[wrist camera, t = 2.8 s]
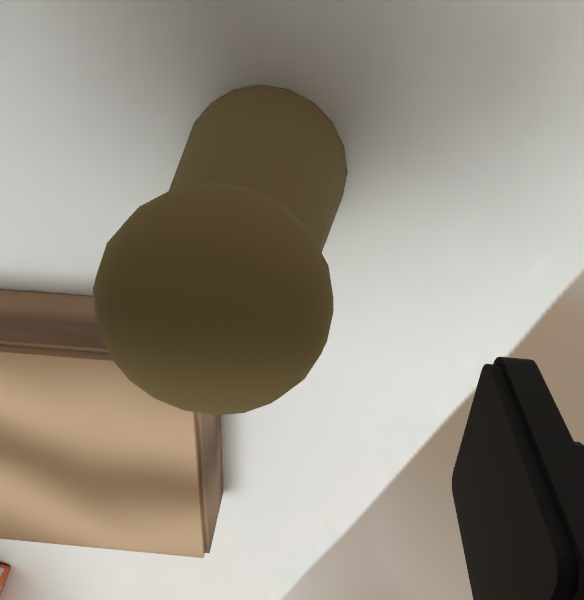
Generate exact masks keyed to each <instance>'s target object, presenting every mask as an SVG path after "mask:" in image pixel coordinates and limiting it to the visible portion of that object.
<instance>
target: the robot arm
mask: <svg viewBox="0 0 584 600" xmlns="http://www.w3.org/2000/svg"><path fill="white" fill-rule="evenodd" d="M452 492H453V497H454V503H455V507H456V513H457V518H458V523H459V528H460V533H461V538H462V543H463V548H464V554H465V559H466V564H467V569H468V574H469V579H470V584H471V589H472V595H473V599H474V600H584V445H582V444H581V443H580V442H574V441H573V439H572V437H571V435H570V433H569V431H568V429H567V426H566V425H565V422H564V420H563V418H562V416H561V414H560V412H559V410H558V408H557V406H556V404H555V402H554V399H553V397H552V395H551V393H550V391H549V389H548V387H547V385H546V383H545V381H544V379H543V377H542V375H541V373H540V370H539V369H538V366H537V364H536V363H535V362H534V361H533V360H530V359H519V358H508V357H498V358H496V360H495V361H494V364H493V365H492V364H485V365H484V366H483V368H482V371H481V374H480V378H479V382H478V385H477V389H476V392H475V396H474V399H473V403H472V406H471V410H470V414H469V417H468V421H467V424H466V428H465V431H464V435H463V438H462V442H461V446H460V449H459V453H458V456H457V460H456V464H455V467H454V471H453V476H452Z"/></svg>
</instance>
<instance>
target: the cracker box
mask: <svg viewBox="0 0 584 600" xmlns="http://www.w3.org/2000/svg"><path fill="white" fill-rule="evenodd" d="M9 569H10V567H9V566H6V565H3V564H0V593H1V591H2V588H3V585H4V583H5V580H6V578H7V575H8V572H9Z"/></svg>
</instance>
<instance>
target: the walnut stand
mask: <svg viewBox="0 0 584 600" xmlns="http://www.w3.org/2000/svg"><path fill="white" fill-rule="evenodd" d="M222 495H223V480H222V452H221V424H220V415H210V414H203V413H197V412H191V411H184V410H182V409H179V408H177V407H174V406H172V405H169V404H167V403H164V402H162V401H159V400H157V399H155V398H153V397H152V396H150V395H149V394H148V393H146V392H145V391H143V390H142V389H141V388H139V387H138V386H136V385H135V384H134V383H132V382H131V381H130V380H129V379H128V378H127V377H126V376H125V374H124V373H123V372H122V371H121V370H120V368H119V367H118V366H117V365H116V364H115V362H114V361H113V360H112V359H111V357H110V355H109V353H108V350H107V348H106V346H105V343H104V341H103V339H102V336H101V334H100V332H99V329H98V326H97V323H96V320H95V308H94V296H81V295H68V294H55V293H42V292H29V291H15V290H2V289H0V539H10V540H21V541H31V542H42V543H52V544H63V545H73V546H84V547H94V548H105V549H115V550H126V551H136V552H147V553H157V554H168V555H178V556H188V557H199V558H204V553H210V548H211V544H212V539H213V535H214V530H215V526H216V522H217V517H218V513H219V508H220V504H221V499H222Z"/></svg>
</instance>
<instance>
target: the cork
mask: <svg viewBox="0 0 584 600" xmlns="http://www.w3.org/2000/svg"><path fill="white" fill-rule="evenodd" d="M346 176H347V167H346V159H345V151H344V146H343V144H342V142H341V140H340V137H339V135H338V133H337V131H336V129H335V127H334V125H333V123H332V122H331V121H330V120H329V118H328V117H327V116H326V115H325V114H324V113H323V112H322V111H321V110H320V109H319V108H318V107H317V106H316V105H315V104H314V103H313V102H311V101H309V100H307V99H306V98H304V97H302V96H300V95H298V94H296V93H294V92H292V91H291V90H289V89H282V88H276V87H270V86H264V85H259V86H253V87H247V88H241V89H236V90H233V91H231V92H230V93H228V94H226V95H224V96H223V97H221V98H219V99H217V100H216V101H214V102H212V103H211V104H210V105H209V106H208V107H207V109H206V110H205V111H204V112H203V113H202V114H201V116H200V117H199V118H198V119H197V120H196V122H195V123H194V126H193V128H192V131H191V133H190V136H189V139H188V141H187V144H186V146H185V149H184V152H183V154H182V157H181V160H180V162H179V165H178V168H177V171H176V173H175V176H174V179H173V181H172V184H171V187H170V189H169V191H168V192H167V193H165V194H163V195H161V196H159V197H157V198H155V199H153V200H151V201H149V202H148V203H146V204H144V205H142V206H140V207H139V208H138V209H137V210H136V211H135V212H134V213H133V214H132V215H131V216H130V217H129V219H128V220H127V221H126V222H125V223H124V224H123V225H122V227H121V228H120V229H119V230H118V231H117V232H116V234H115V235H114V236H113V237H112V238H111V239H110V240H109V242H108V243H107V245H106V248H105V251H104V254H103V257H102V260H101V263H100V266H99V269H98V272H97V276H96V279H95V283H94V287H93V292H94V308H95V320H96V323H97V326H98V329H99V332H100V334H101V336H102V339H103V341H104V343H105V346H106V348H107V350H108V353H109V355H110V357H111V359H112V360H113V361H114V362H115V364H116V365H117V366H118V367H119V368H120V370H121V371H122V372H123V373H124V374H125V376H126V377H127V378H128V379H129V380H130V381H131V382H132V383H134V384H135V385H136V386H138V387H139V388H141V389H142V390H143V391H145V392H146V393H148V394H149V395H150V396H152V397H153V398H155V399H157V400H159V401H162V402H164V403H167V404H169V405H172V406H174V407H177V408H179V409H182V410H184V411H191V412H197V413H203V414H210V415H223V414H235V413H245V412H248V411H250V410H253V409H256V408H259V407H262V406H264V405H267V404H270V403H272V402H273V401H275V400H277V399H278V398H280V397H281V396H282V395H284V394H285V393H286V392H288V391H289V390H290V389H292V388H293V387H294V386H296V385H297V384H298V383H300V382H301V381H302V380H304V379H305V377H306V376H307V374H308V373H309V371H310V370H311V368H312V367H313V365H314V364H315V362H316V361H317V359H318V358H319V356H320V355H321V353H322V351H323V348H324V346H325V344H326V342H327V338H328V334H329V329H330V325H331V320H332V315H333V293H332V286H331V280H330V274H329V267H328V264H327V262H326V261H325V259H324V257H323V255H322V250H323V248H324V245H325V242H326V239H327V237H328V234H329V231H330V229H331V226H332V223H333V221H334V218H335V215H336V212H337V210H338V207H339V204H340V202H341V199H342V196H343V191H344V186H345V181H346Z"/></svg>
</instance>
